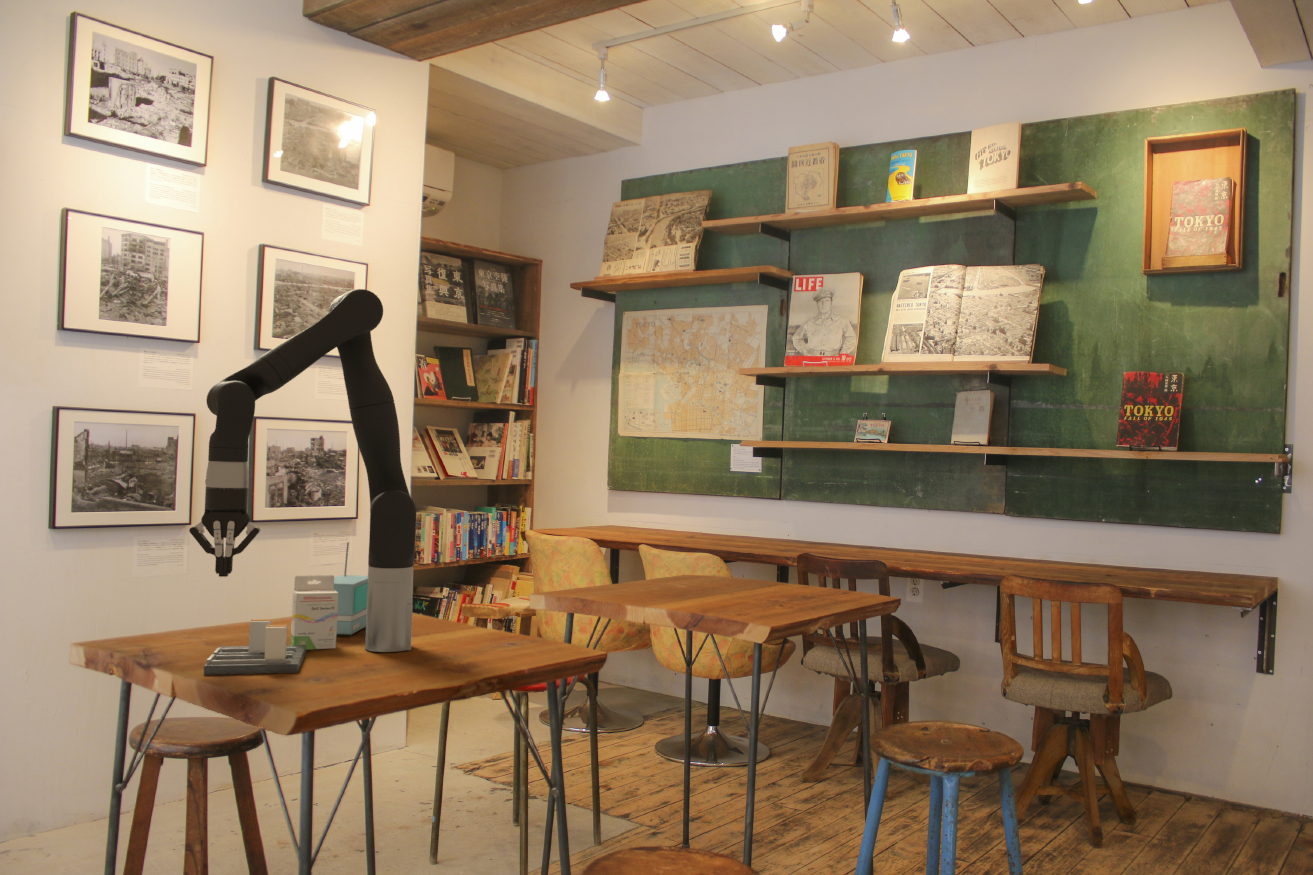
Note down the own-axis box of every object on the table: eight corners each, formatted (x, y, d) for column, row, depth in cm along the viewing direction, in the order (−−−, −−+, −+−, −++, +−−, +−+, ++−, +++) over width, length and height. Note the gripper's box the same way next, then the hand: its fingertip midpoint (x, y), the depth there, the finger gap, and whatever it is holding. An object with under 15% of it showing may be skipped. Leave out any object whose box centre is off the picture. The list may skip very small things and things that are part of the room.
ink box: (293, 650, 205) (296, 578, 206) (289, 646, 210) (292, 575, 210) (337, 648, 209) (339, 577, 210) (332, 644, 214) (335, 574, 214)
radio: (356, 638, 222) (359, 547, 222) (315, 637, 222) (319, 546, 222) (377, 626, 237) (380, 541, 238) (339, 625, 237) (342, 540, 238)
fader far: (269, 650, 196) (271, 618, 196) (268, 653, 193) (269, 620, 193) (250, 650, 195) (251, 618, 195) (248, 653, 192) (249, 620, 192)
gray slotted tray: (306, 652, 204) (306, 640, 204) (297, 672, 185) (298, 659, 185) (220, 654, 199) (221, 642, 200) (203, 674, 181) (204, 661, 181)
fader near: (286, 656, 190) (287, 623, 190) (284, 659, 187) (285, 626, 187) (266, 657, 189) (267, 623, 189) (264, 660, 186) (265, 626, 186)
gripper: (266, 485, 198) (262, 573, 198) (193, 484, 195) (189, 573, 194) (261, 486, 191) (258, 578, 190) (185, 485, 187) (181, 578, 187)
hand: (223, 576), depth 192 cm, fingers closed
